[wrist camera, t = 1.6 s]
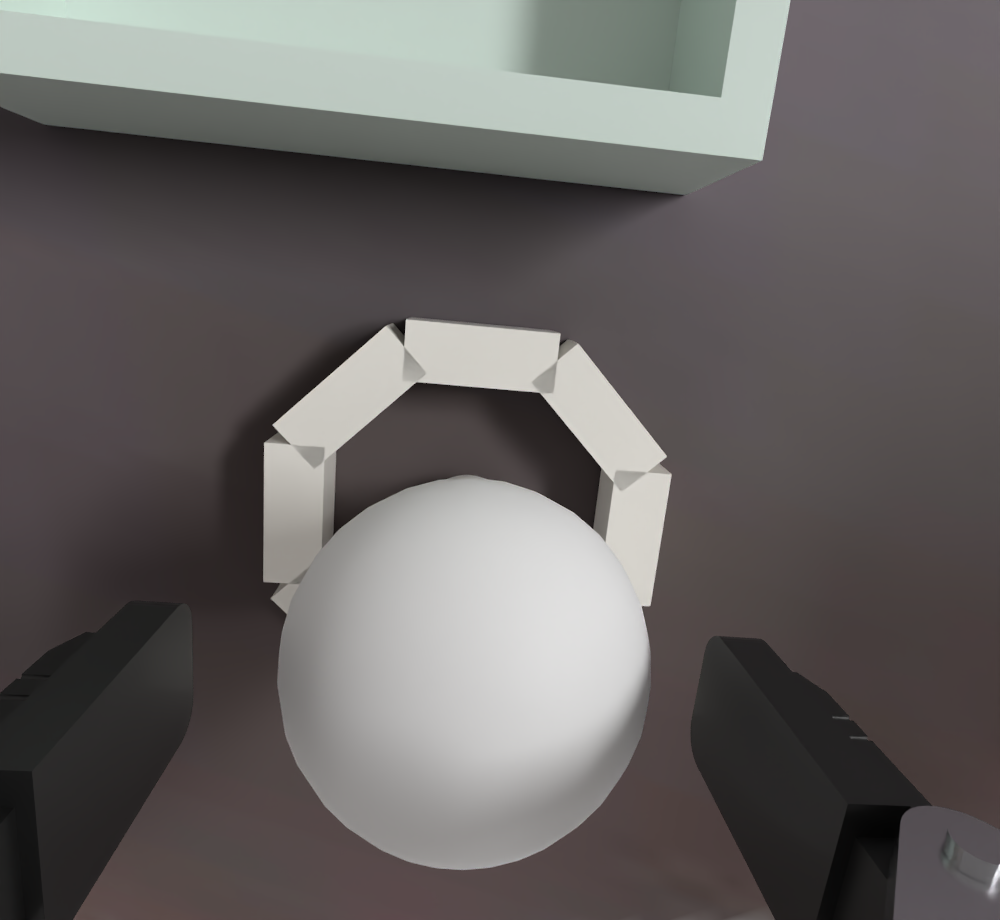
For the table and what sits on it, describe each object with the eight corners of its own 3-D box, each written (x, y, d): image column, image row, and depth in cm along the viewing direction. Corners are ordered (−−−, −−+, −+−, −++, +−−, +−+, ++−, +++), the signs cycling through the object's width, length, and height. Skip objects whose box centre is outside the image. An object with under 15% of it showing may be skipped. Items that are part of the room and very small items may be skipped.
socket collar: (672, 341, 18) (692, 345, 16) (620, 680, 20) (633, 711, 19) (283, 305, 17) (264, 306, 16) (278, 661, 20) (262, 693, 18)
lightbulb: (324, 448, 18) (123, 668, 7) (530, 372, 18) (626, 485, 7) (407, 633, 20) (338, 1035, 9) (598, 565, 19) (761, 893, 9)
